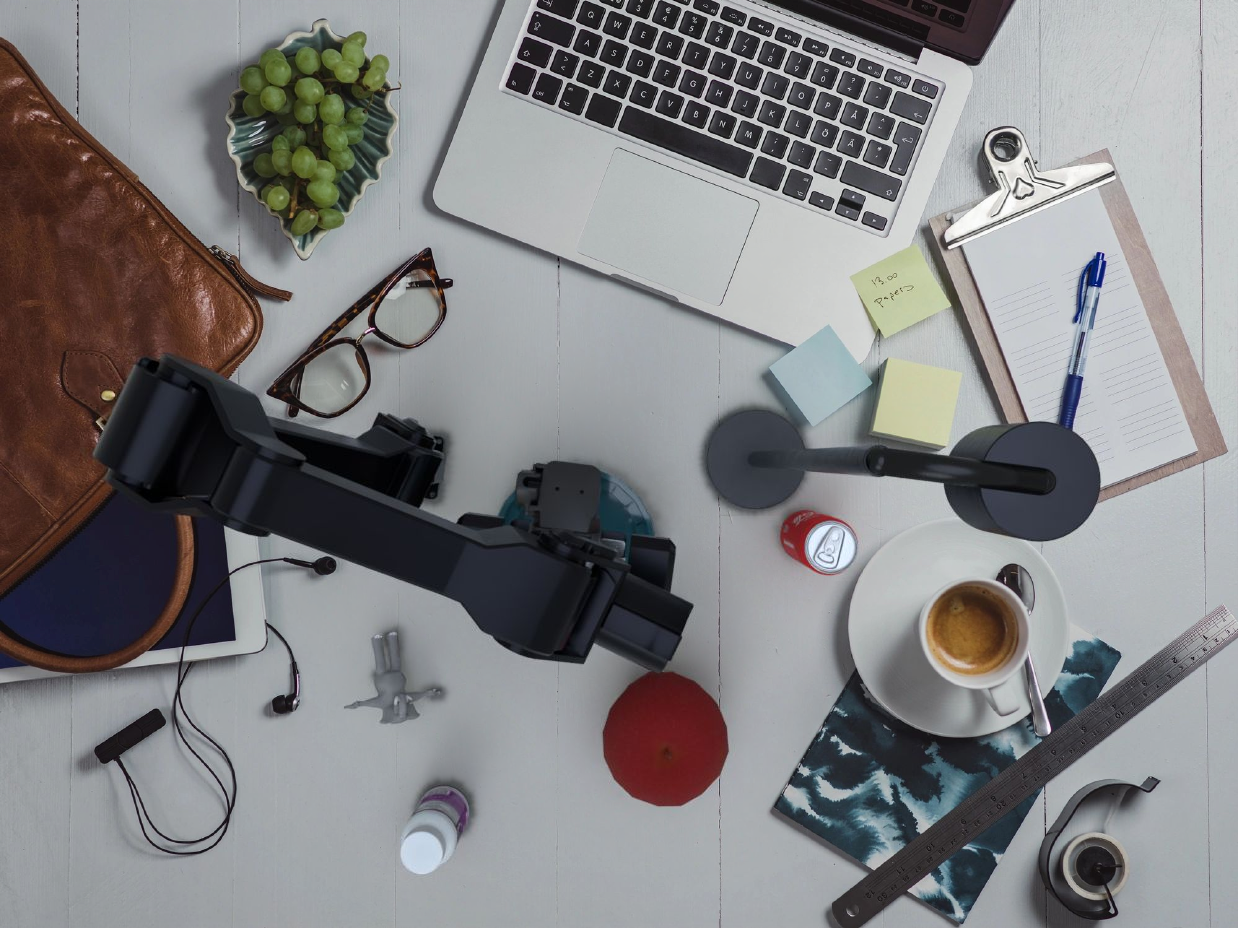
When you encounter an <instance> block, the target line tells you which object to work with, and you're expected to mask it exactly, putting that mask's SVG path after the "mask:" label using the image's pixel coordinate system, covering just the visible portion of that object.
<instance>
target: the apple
mask: <svg viewBox="0 0 1238 928" xmlns="http://www.w3.org/2000/svg"><path fill="white" fill-rule="evenodd" d="M726 723H727V722H726V720H725V718H724V715H723V714H722V711H721V709H720V706H719V704H718V702H717V701H716V700H715V699H714V697H712V695H710V693H708V692H707V691H706V690H705V689H704V688H703V687H702V686H701V685H700V684H699V683H698V682H697V681H695V680H693V679H692V678H689V677H687V676H684V675H682V674H680V673H678V672H675V671H663V672H662V674H661V675H659V674H656V673H654V672H652V671H648V672H646V673H645V674H643V675H642V676H640V677H638V678H637V679H635V680H634V681H632V682H630V683H629V684H628V686H627V687H626V688H625V689H624V690H623V691H622V693H621V694H620V695H619V696H618V697H617V698H616V699H615V701H614V702H613V704H612V705H611V707H610V708H609V710H608V714H607V717H606V720H605V723H604V726H603V729H602V750H603V751H602V752H603V753H602V755H603V759H604V762H605V763H606V765H607V767H608V769H609V772H610V774H611V775H612V778H613V780H614V781H615V782H616V783H617V784H618V786H620V787H621V788H622V789H623V790H624V791H625V792H626V793H627V794H628V795H629V796H630V798H633V799H635V800H639V801H640V802H641V801H642V802H644V803H647V804H649V805H653V806H655V807H682V806H685V804H687V803H690V802H691V801H693V800H694V799H696V798H699V797H700V796H702V795H703V794H704V793H705V792H706V791H707V790H708V789H709V788H710V786H711V785H713V783H714V782H715V781H716V780H717V779H718V778H719V777H720V776H721V774H722V772H723V768H724V766H725V763H726V761H727V757H728V756H729V752H730V748H729V747H730V746H729V736H728V735H729V734H728V725H727V724H726Z"/></svg>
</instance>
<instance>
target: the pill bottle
mask: <svg viewBox="0 0 1238 928" xmlns="http://www.w3.org/2000/svg"><path fill="white" fill-rule="evenodd" d="M469 817H470V806H469V803H468V800H467V799H466V797H465V795H463V793H462V792H460V791H459V790H458V789H456V788H454V787H451V786H448V785H440V786H437V787H433V788H431V789H429V790H428V791H427V792H426V793H424V794H423V796H422V797H421V799H420V800H419V802H418V803H417V805H416V807H415V808H414V810H413V811H412V813H411V815H410V817H409V818H408V819H407V821H406V823H405V824H404V826H403V828H402V832H401V838H400V852H399V855H400V860H401V862H402V864H403V866H404V867H405V868H406V869H407V870H408V871H410V872H411V873H414V874H417V875H426V874H430V873H432V872H434V871H435V870H436V869H437V868H438V867H439V866H441V865H443V864H444V863H445V862H447V861H448V860H449V859H450V858H451V857H452V855H453V854H454V853H455V850H456V849H457V846H458V843H459V842H460V839H461V837H462V835H463V833H464V830H465V829H466V826H467V824H468V822H469Z"/></svg>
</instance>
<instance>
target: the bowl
mask: <svg viewBox="0 0 1238 928" xmlns="http://www.w3.org/2000/svg"><path fill="white" fill-rule="evenodd" d="M597 468H598V467H597ZM598 469H599V471H600V473H601V493H600V499H599V507H598V514H597V516H598V517H599V518H600V519H601V524H600V530H608V531H616V532H622V533H623V534H625V536H626V538H627V542H626V550H625V557H626V560H625V563H627V564H628V557H629V550H630V542H631V534H643V535H651V536H656V534H655V529H654V523H653V519H652V516H651V515H650V513H649V511H648V509H647V507H646V505H645V504H644V502H643V500H642V498H641V496H640V495H639V494H638V493H637V492H636V491H634V490H633V488H632V487H631V486H629V485H628V483H626V482H625V481H624V480H623V479H622V478H620V477H618V476H616V475H614V474H612V473H610V472H607V471H605V470H603V469H601V468H598ZM525 509H526V508H524V507H518V506H517V505H516V500H515V490H513V492H512V493H511V494H510V495H509V496H508V497H507V498H506V499H505V500H504V502H503V504H502V506H501V508H500V510H499V512H498V514H497V516H501V517H505V524H504V525H503V526H508V525H510V523H511V522H512V521H513V520H514V519H523V520H531V521H532V519H533V517H528V516H525Z"/></svg>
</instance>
